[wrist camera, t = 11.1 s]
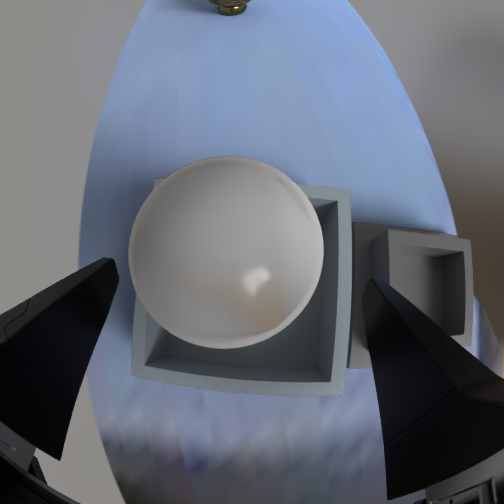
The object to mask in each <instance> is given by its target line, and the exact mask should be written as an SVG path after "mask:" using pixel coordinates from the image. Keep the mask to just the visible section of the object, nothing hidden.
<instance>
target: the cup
mask: <svg viewBox="0 0 504 504" xmlns="http://www.w3.org/2000/svg"><path fill="white" fill-rule="evenodd" d="M209 1H210V2H211V3H213V4H215V5H218V7H217V9H218V11H219V12H220V13H221V14H224V15H237V14H241V13H243V12H244V11H245V10H246V8H247V4H246V3H248V2H250V1H251V0H209Z"/></svg>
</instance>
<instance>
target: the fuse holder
mask: <svg viewBox="0 0 504 504" xmlns="http://www.w3.org/2000/svg"><path fill="white" fill-rule="evenodd" d="M351 227H352V290H351V314H350V330H349V342H348V354H347V363H346V367H347V368H349V369H358V368H372V364H371V359H370V354H369V350H368V345H367V340H366V333H365V323H364V315H363V307H362V295H363V292H364V290H365V287H366V284H367V281H368V279H369V278H371V277H377V278H381V279H383V280H384V281H385V282H387V283H388V284H389V285H390V286H392V287H393V288H394V289H395V290H397V291H398V292H399V293H400V294H402V295H403V296H404V297H405V298H406V299H408V300H409V301H410V302H411V303H412V304H414V305H415V306H416V307H417V308H419V309H420V310H421V311H422V312H423V313H424V314H426V315H427V316H428V317H429V318H430V319H431V320H433V321H434V322H435V323H436V324H437V325H438V326H440V327H441V328H442V329H443V330H444V331H445V332H446V333H447V334H449V335H450V336H451V337H452V338H453V339H454V340H455V341H457V342H458V343H459V344H460V345H461V346H462V347H467V346H471V338H472V323H473V271H472V256H471V245H470V240H466V239H459V238H457V235H451V234H444V233H437V232H430V231H423V230H416V229H408V228H400V227H392V226H384V225H375V224H366V223H357V222H354V223H353V224H352V225H351Z"/></svg>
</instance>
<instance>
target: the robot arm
mask: <svg viewBox="0 0 504 504" xmlns="http://www.w3.org/2000/svg"><path fill="white" fill-rule="evenodd" d="M118 283H119V275H118V272H117V268H116V264H115V261H114V259H112V258H105V257H104V258H101V259H99V260H97V261H95V262H94V263H92V264H90V265H88V266H86V267H84V268H82V269H80V270H78V271H77V272H75V273H73V274H71V275H69V276H67V277H66V278H64V279H62V280H60V281H58V282H57V283H55V284H53V285H51V286H50V287H48V288H46V289H44V290H42V291H41V292H39V293H37V294H36V295H34V296H32V297H31V298H29V299H27V300H25V301H24V302H22V303H20V304H19V305H17V306H15V307H14V308H12V309H10V310H8V311H6V312H5V313H3V314H1V315H0V504H80V503H78V502H76V501H74V500H72V499H70V498H68V497H67V496H65V495H63V494H61V493H60V492H58V491H56V490H55V489H53V488H51V487H50V486H48V485H47V482H46V480H45V477H44V475H43V472H42V470H41V468H40V465H39V462H38V460H37V458H36V457H35V456H34V453H35V450H36V447H37V448H38V449H40V450H42V451H43V452H45V453H46V454H48V455H50V456H52V457H53V458H55V459H57V460H59V461H60V459H61V456H62V452H63V447H64V443H65V439H66V435H67V431H68V427H69V423H70V419H71V416H72V412H73V409H74V406H75V402H76V399H77V396H78V393H79V389H80V386H81V384H82V381H83V378H84V375H85V372H86V369H87V366H88V364H89V361H90V358H91V356H92V353H93V350H94V348H95V345H96V343H97V340H98V338H99V335H100V333H101V330H102V328H103V326H104V323H105V321H106V318H107V316H108V313H109V310H110V307H111V304H112V301H113V298H114V295H115V292H116V289H117V286H118ZM362 307H363V315H364V323H365V333H366V340H367V345H368V350H369V354H370V359H371V364H372V369H373V375H374V380H375V386H376V392H377V398H378V404H379V411H380V418H381V426H382V434H383V443H384V455H385V467H386V484H387V500H391V499H395V498H398V497H402V496H405V495H408V494H411V493H414V492H417V491H420V490H422V489H425V493H426V498H424V499H422V500H419V501H416V502H414V504H504V379H503V378H501V377H499V376H498V375H497V374H495V373H494V372H493V371H492V370H490V369H489V368H488V367H487V366H486V365H484V364H483V363H482V362H481V361H479V360H478V359H477V358H476V357H474V356H473V355H472V354H471V353H470V352H468V351H467V350H466V349H465V348H463V347H462V346H461V345H460V344H459V343H458V342H457V341H455V340H454V339H453V338H452V337H451V336H450V335H449V334H447V333H446V332H445V331H444V330H443V329H442V328H441V327H440V326H438V325H437V324H436V323H435V322H434V321H433V320H431V319H430V318H429V317H428V316H427V315H426V314H424V313H423V312H422V311H421V310H420V309H419V308H417V307H416V306H415V305H414V304H412V303H411V302H410V301H409V300H408V299H406V298H405V297H404V296H403V295H402V294H400V293H399V292H398V291H397V290H395V289H394V288H393V287H392V286H390V285H389V284H388V283H387V282H385V281H384V280H383V279H381V278H377V277H371V278H369V279H368V281H367V284H366V287H365V290H364V292H363V295H362Z"/></svg>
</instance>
